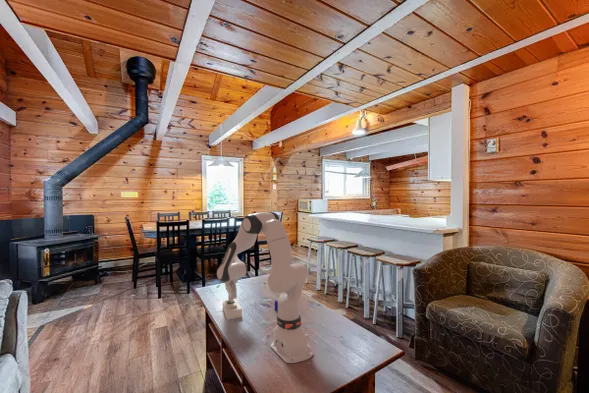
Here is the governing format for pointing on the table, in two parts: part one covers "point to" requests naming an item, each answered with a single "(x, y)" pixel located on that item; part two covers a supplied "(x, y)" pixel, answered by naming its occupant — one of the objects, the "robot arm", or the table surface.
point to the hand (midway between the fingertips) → (230, 300)
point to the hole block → (232, 309)
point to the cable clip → (276, 305)
